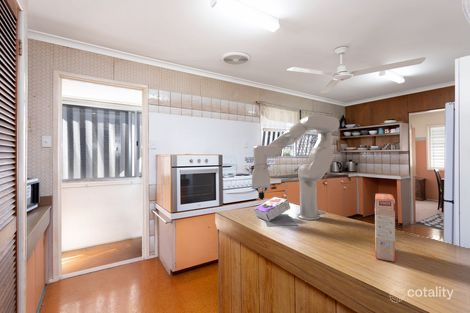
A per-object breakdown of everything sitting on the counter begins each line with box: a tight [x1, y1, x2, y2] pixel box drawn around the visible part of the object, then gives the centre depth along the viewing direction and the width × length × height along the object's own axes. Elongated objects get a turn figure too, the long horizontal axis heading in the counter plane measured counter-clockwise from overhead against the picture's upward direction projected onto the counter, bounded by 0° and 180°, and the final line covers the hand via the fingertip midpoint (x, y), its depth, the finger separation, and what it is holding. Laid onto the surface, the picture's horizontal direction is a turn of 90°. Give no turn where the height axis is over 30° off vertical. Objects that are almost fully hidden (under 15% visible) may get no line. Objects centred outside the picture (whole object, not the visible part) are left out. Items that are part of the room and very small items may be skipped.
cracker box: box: [374, 193, 396, 263], centre depth 84 cm, size 14×6×21 cm, turn 148°
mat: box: [263, 213, 299, 227], centre depth 131 cm, size 16×24×1 cm, turn 0°
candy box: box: [253, 196, 291, 221], centre depth 136 cm, size 14×6×16 cm
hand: (261, 199), depth 132 cm, fingers closed
